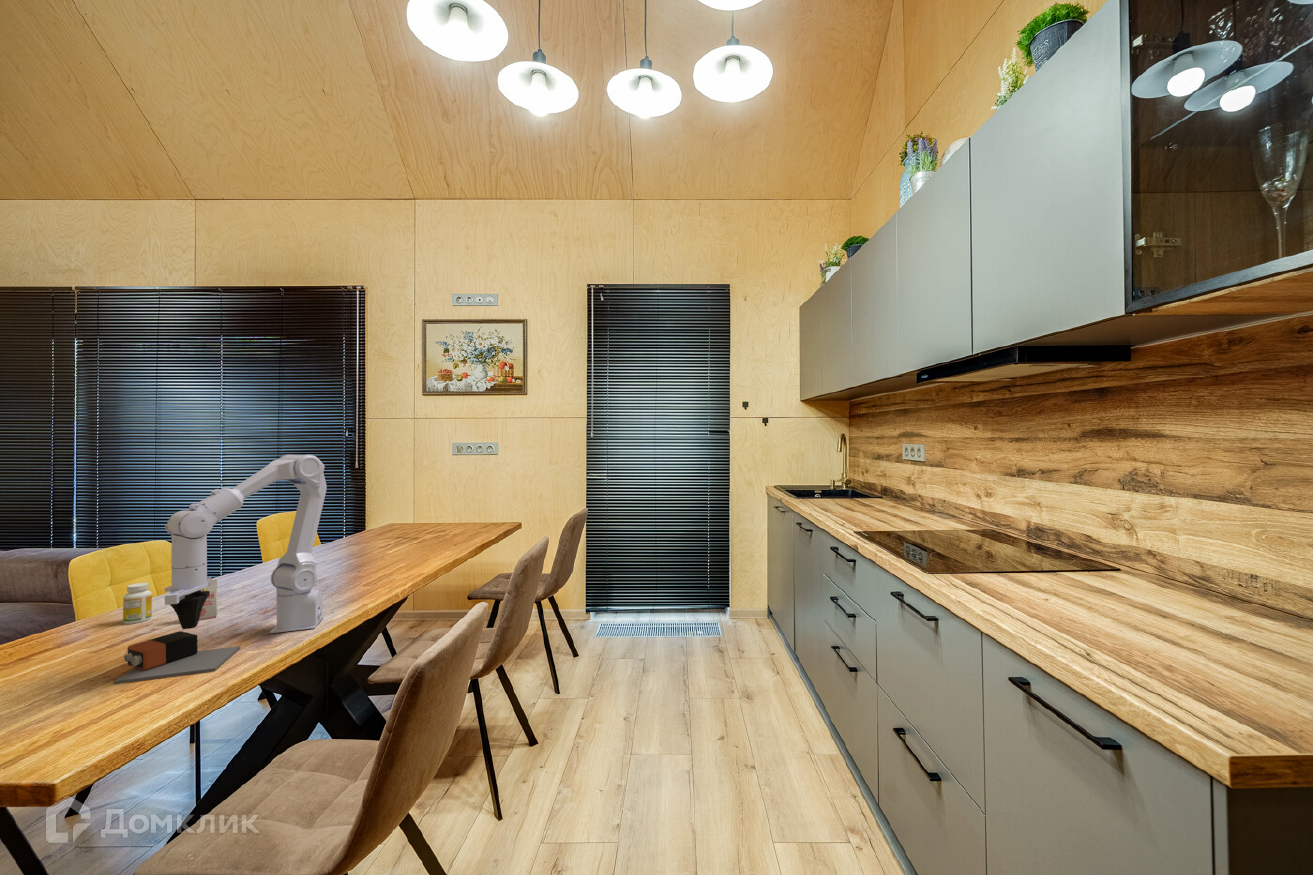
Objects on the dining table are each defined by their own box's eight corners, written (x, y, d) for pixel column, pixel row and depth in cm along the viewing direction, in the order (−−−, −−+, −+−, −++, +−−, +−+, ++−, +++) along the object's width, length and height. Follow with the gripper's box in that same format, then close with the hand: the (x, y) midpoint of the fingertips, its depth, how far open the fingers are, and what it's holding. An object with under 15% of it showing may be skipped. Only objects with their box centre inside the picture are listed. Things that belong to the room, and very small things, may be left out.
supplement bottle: (130, 625, 131) (130, 588, 131) (118, 623, 133) (118, 586, 133) (156, 618, 136) (156, 582, 136) (144, 616, 138) (144, 581, 138)
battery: (198, 653, 112) (138, 673, 102) (180, 649, 114) (120, 668, 105) (198, 634, 112) (138, 651, 102) (180, 630, 114) (120, 647, 105)
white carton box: (183, 619, 135) (183, 582, 135) (217, 614, 139) (217, 578, 139) (181, 623, 132) (181, 585, 132) (216, 617, 136) (215, 580, 136)
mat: (240, 648, 116) (240, 646, 116) (214, 671, 105) (214, 668, 105) (151, 659, 110) (151, 656, 110) (114, 684, 99) (114, 681, 99)
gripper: (184, 559, 116) (184, 618, 116) (145, 575, 102) (145, 642, 102) (222, 557, 118) (222, 615, 118) (189, 572, 105) (189, 637, 105)
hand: (189, 627), depth 110 cm, fingers closed
